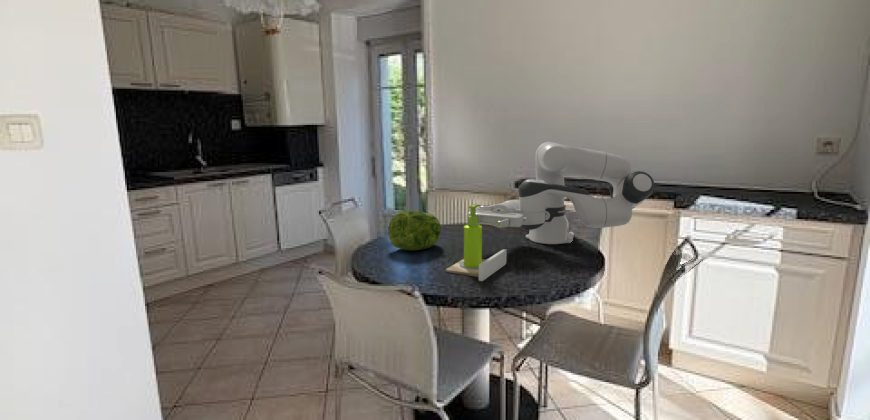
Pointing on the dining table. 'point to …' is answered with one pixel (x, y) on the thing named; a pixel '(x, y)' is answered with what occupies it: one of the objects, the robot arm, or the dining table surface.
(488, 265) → the low wall
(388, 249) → the dining table surface
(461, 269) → the oak board
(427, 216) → the lettuce
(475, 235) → the soap dispenser
